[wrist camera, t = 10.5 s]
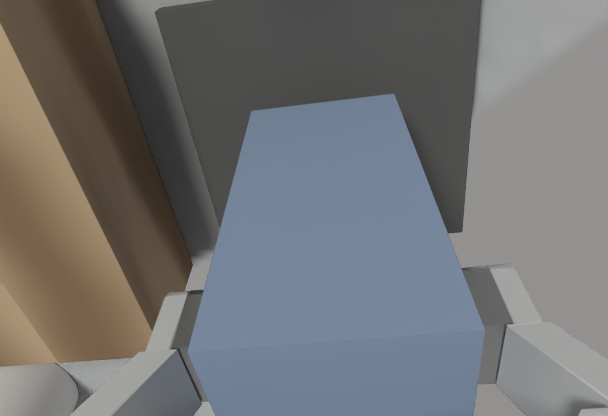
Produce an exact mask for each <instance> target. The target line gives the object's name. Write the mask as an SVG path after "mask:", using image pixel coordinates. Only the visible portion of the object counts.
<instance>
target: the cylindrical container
mask: <svg viewBox="0 0 608 416" xmlns="http://www.w3.org/2000/svg"><path fill="white" fill-rule="evenodd" d="M78 397H79V393H78V388H77V386H76V383H75V382H74V381H73V379H72V378H71V376H70V375H69V374H68V373H66V372H65V371H64V370H63V369H62V368H61V367H59V366H58V365H56V364H55V363H49V364H35V365H20V366H6V367H0V416H69V415H70V414H72V412H73V410H74V408H75V405H76V403H77V401H78Z"/></svg>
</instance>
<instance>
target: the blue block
mask: <svg viewBox="0 0 608 416" xmlns="http://www.w3.org/2000/svg"><path fill="white" fill-rule="evenodd" d="M484 334H485V329H484V326H483V324H482V321H481V318H480V316H479V313H478V311H477V308H476V305H475V303H474V300H473V298H472V295H471V292H470V290H469V287H468V285H467V282H466V279H465V277H464V274H463V272H462V269H461V266H460V264H459V261H458V259H457V256H456V253H455V251H454V248H453V246H452V243H451V240H450V238H449V235H448V233H447V230H446V227H445V225H444V222H443V220H442V217H441V214H440V212H439V209H438V206H437V204H436V201H435V199H434V196H433V193H432V191H431V188H430V186H429V183H428V180H427V178H426V175H425V173H424V170H423V167H422V165H421V162H420V160H419V157H418V154H417V152H416V149H415V147H414V144H413V141H412V139H411V136H410V134H409V131H408V128H407V126H406V123H405V121H404V118H403V115H402V113H401V110H400V108H399V105H398V102H397V100H396V97H395V95H394V94H387V95H378V96H370V97H362V98H354V99H345V100H337V101H329V102H321V103H312V104H304V105H296V106H288V107H280V108H271V109H263V110H255V111H251V115H250V118H249V122H248V126H247V130H246V133H245V137H244V141H243V145H242V148H241V152H240V156H239V160H238V163H237V167H236V171H235V175H234V178H233V182H232V186H231V190H230V194H229V197H228V201H227V205H226V209H225V212H224V216H223V220H222V224H221V227H220V231H219V235H218V239H217V242H216V246H215V250H214V254H213V258H212V261H211V265H210V269H209V273H208V276H207V280H206V284H205V288H204V291H203V295H202V299H201V303H200V306H199V310H198V314H197V318H196V321H195V325H194V329H193V333H192V336H191V340H190V344H189V348H188V352H187V353H188V355H189V357H190V359H191V362H192V364H193V366H194V369H195V371H196V373H197V375H198V378H199V380H200V382H201V384H202V387H203V389H204V391H205V393H206V396H207V398H208V400H209V402H210V405H211V407H212V409H213V412H214V414H215V416H473V412H474V406H475V398H476V391H477V384H478V377H479V370H480V362H481V355H482V348H483V341H484Z"/></svg>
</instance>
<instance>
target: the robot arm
mask: <svg viewBox="0 0 608 416" xmlns="http://www.w3.org/2000/svg"><path fill="white" fill-rule="evenodd" d="M461 269H462V272H463V274H464V277H465V279H466V282H467V285H468V287H469V290H470V292H471V295H472V298H473V300H474V303H475V305H476V308H477V311H478V313H479V316H480V318H481V321H482V324H483V326H484V329H485V334H484V341H483V348H482V355H481V362H480V370H479V377H478V384H496V386H497V387H498V388H499V389H500V390H501V391H502V392H503V393H504V394H505V395H506V396H507V397H508V398H509V399H510V400H511V401H512V402H513V403H514V404H515V405H516V406H517V407H518V408H519V409H520V410H521V411H522V412H523V413H524V414H525V415H526V416H608V359H607V358H606V357H604V356H603V355H601V354H600V353H598V352H597V351H595V350H594V349H592V348H590V347H589V346H587V345H586V344H584V343H583V342H581V341H580V340H578V339H577V338H575V337H574V336H572V335H570V334H569V333H568V332H566V331H565V330H563V329H562V328H560V327H559V326H557V325H555V324H554V323H552V322H543V320H542V318H541V316H540V315H539V313H538V311H537V309H536V307H535V305H534V303H533V301H532V299H531V297H530V296H529V294H528V292H527V290H526V289H525V286H524V284H523V282H522V281H521V279H520V277H519V275H518V273H517V271H516V269H515V267H514V266H513V265H511V264H499V265H489V266H480V267H469V268H461ZM203 291H204V290H195V291H194V290H193V291H184V292H169V293H168V294H167V296H166V297H165V298H164V301H163V304H162V306H161V309H160V312H159V315H158V318H157V320H156V323H155V326H154V329H153V331H152V334H151V337H150V340H149V342H148V345H147V348H146V351H144V352H138V353H137V354H136V355H135V356H134V357H133V358H132V359H131V360H129V361H128V362H127V363H126V364H125V365H124V366H123V367H122V368H121V369H120V370H119V371H117V372H116V373H115V374H114V375H113V376H112V377H111V378H110V379H109V380H108V381H107V382H105V383H104V384H103V385H102V386H101V387H100V388H99V389H98V390H97V391H96V392H95V393H93V394H92V395H91V396H90V397H89V398H88V399H87V400H86V401H85V402H84V403H83V404H81V405H80V406H79V407H78V408H77V409H76V410H75V411H74V412H73V413H72V414H70V415H69V416H194V414H195V413H196V412H197V410H198V409H199V408H200V406H201V405H202V403H201V402H206V401H209V400H208V398H207V396H206V393H205V391H204V389H203V387H202V384H201V382H200V380H199V378H198V375H197V373H196V371H195V369H194V366H193V364H192V362H191V359H190V357H189V355H188V353H187V352H188V348H189V344H190V340H191V336H192V333H193V329H194V325H195V321H196V318H197V314H198V310H199V306H200V303H201V299H202V295H203Z"/></svg>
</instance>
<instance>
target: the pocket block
mask: <svg viewBox="0 0 608 416" xmlns="http://www.w3.org/2000/svg"><path fill="white" fill-rule="evenodd" d="M192 266H193V264H192V261H191V259H190V256H189V253H188V251H187V248H186V245H185V242H184V240H183V237H182V234H181V232H180V229H179V226H178V223H177V221H176V218H175V215H174V213H173V210H172V207H171V204H170V202H169V199H168V196H167V194H166V191H165V188H164V185H163V183H162V180H161V177H160V175H159V172H158V169H157V166H156V164H155V161H154V158H153V156H152V153H151V150H150V147H149V145H148V142H147V139H146V137H145V134H144V131H143V128H142V126H141V123H140V120H139V118H138V115H137V112H136V109H135V107H134V104H133V101H132V99H131V96H130V93H129V90H128V88H127V85H126V82H125V80H124V77H123V74H122V71H121V69H120V66H119V63H118V61H117V58H116V55H115V52H114V50H113V47H112V44H111V42H110V39H109V36H108V33H107V31H106V28H105V25H104V23H103V20H102V17H101V14H100V12H99V9H98V6H97V4H96V1H95V0H0V367H6V366H20V365H35V364H49V363H63V362H77V361H92V360H106V359H120V358H133V357H134V356H135V355H136V354H137V353H138V352H144V351H146V348H147V345H148V342H149V340H150V337H151V334H152V331H153V329H154V326H155V323H156V320H157V318H158V315H159V312H160V309H161V306H162V304H163V301H164V298H165V297H166V296H167V294H168V293H169V292H184V291H185V287H186V284H187V281H188V278H189V275H190V272H191V269H192Z"/></svg>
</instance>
